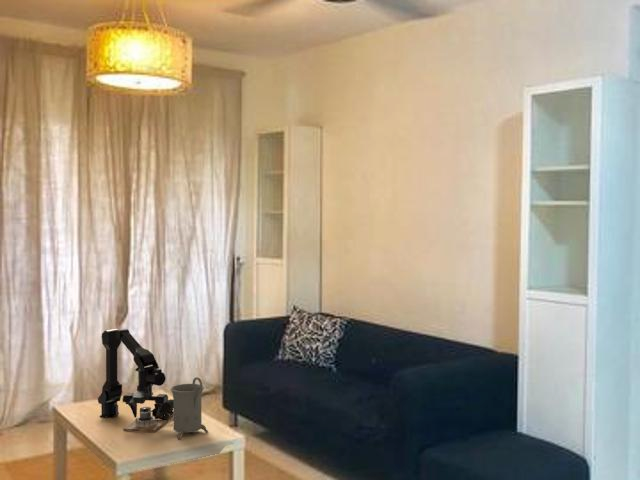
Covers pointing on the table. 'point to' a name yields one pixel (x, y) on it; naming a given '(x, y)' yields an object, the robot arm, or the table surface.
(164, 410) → the night vision scope
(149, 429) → the mount plate
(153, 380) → the robot arm
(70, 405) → the table surface
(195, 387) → the grey footed pail
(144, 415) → the lens
